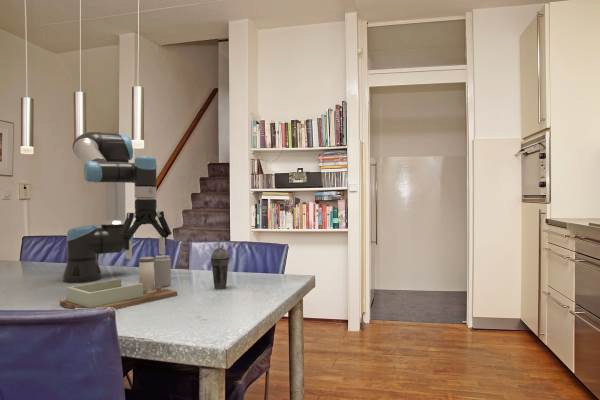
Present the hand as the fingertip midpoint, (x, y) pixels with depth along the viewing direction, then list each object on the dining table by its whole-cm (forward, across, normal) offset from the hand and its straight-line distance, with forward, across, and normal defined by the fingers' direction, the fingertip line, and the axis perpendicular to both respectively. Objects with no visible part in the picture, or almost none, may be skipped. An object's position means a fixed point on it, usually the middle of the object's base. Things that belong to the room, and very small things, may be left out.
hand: (145, 256), depth 157 cm
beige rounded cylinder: (+12, 0, -1) cm, 12 cm away
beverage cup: (+14, +24, -14) cm, 31 cm away
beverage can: (+14, +13, +8) cm, 21 cm away
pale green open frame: (+12, -16, -1) cm, 20 cm away
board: (+14, -10, -1) cm, 17 cm away
